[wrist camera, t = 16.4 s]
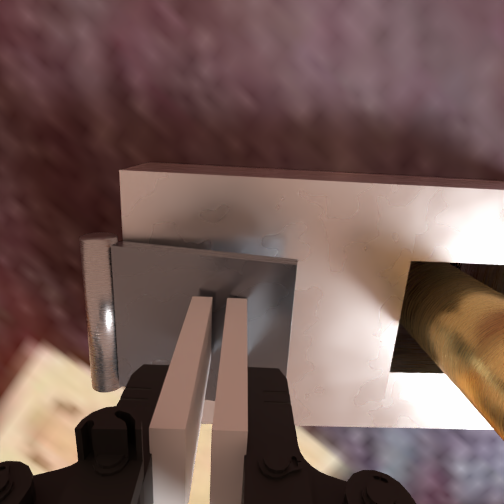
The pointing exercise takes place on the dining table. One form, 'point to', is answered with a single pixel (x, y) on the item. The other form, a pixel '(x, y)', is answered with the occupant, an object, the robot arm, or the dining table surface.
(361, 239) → the block
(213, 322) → the ring flap
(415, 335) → the lynch pin
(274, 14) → the dining table surface
